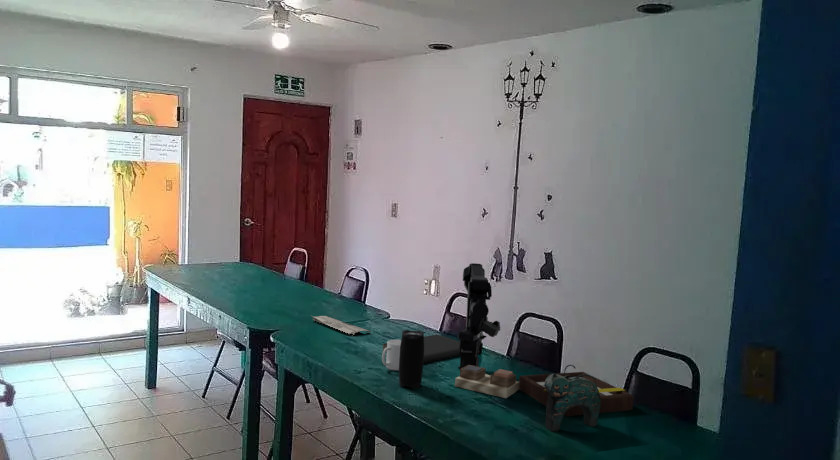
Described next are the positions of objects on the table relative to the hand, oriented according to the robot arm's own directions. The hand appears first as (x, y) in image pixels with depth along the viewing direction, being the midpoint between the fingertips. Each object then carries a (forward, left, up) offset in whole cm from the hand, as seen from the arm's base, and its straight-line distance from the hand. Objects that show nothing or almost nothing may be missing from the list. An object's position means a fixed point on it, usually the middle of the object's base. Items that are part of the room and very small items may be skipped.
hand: (474, 355), depth 237 cm
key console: (+6, 0, -11) cm, 12 cm away
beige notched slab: (-90, +38, -12) cm, 98 cm away
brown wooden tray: (+35, +8, -12) cm, 38 cm away
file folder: (-34, +29, -12) cm, 46 cm away
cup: (-33, -2, -11) cm, 35 cm away
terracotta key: (+12, 0, -7) cm, 14 cm away
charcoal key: (0, 0, -8) cm, 8 cm away
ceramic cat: (+42, -18, -11) cm, 47 cm away
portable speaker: (-17, -16, -11) cm, 26 cm away
